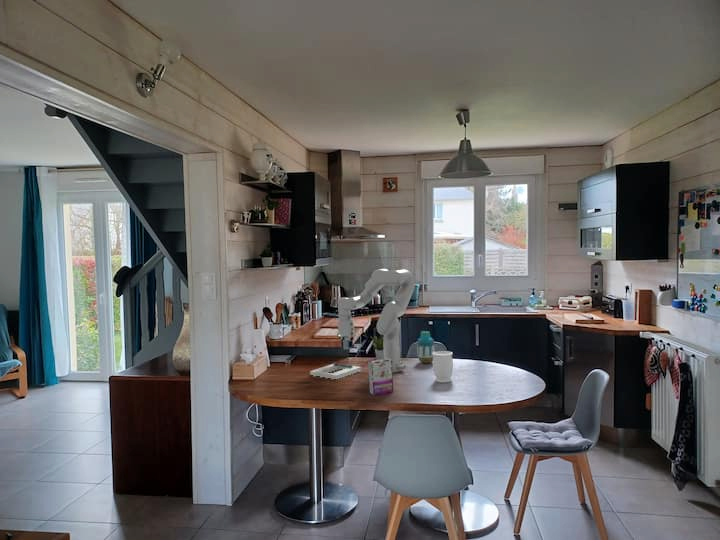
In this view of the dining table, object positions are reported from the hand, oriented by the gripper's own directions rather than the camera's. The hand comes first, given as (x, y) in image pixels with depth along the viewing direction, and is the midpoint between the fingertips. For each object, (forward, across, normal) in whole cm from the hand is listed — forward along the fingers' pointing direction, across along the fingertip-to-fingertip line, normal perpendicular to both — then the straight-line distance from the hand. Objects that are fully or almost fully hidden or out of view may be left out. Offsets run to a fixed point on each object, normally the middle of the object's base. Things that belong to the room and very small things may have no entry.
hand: (347, 346), depth 304 cm
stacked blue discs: (+1, 0, 0) cm, 1 cm away
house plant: (+13, -4, -26) cm, 29 cm away
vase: (+14, -37, -31) cm, 50 cm away
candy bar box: (+14, -50, +34) cm, 62 cm away
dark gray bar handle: (+10, -4, +10) cm, 14 cm away
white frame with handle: (+12, -4, +16) cm, 21 cm away
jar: (+15, -66, 0) cm, 67 cm away
